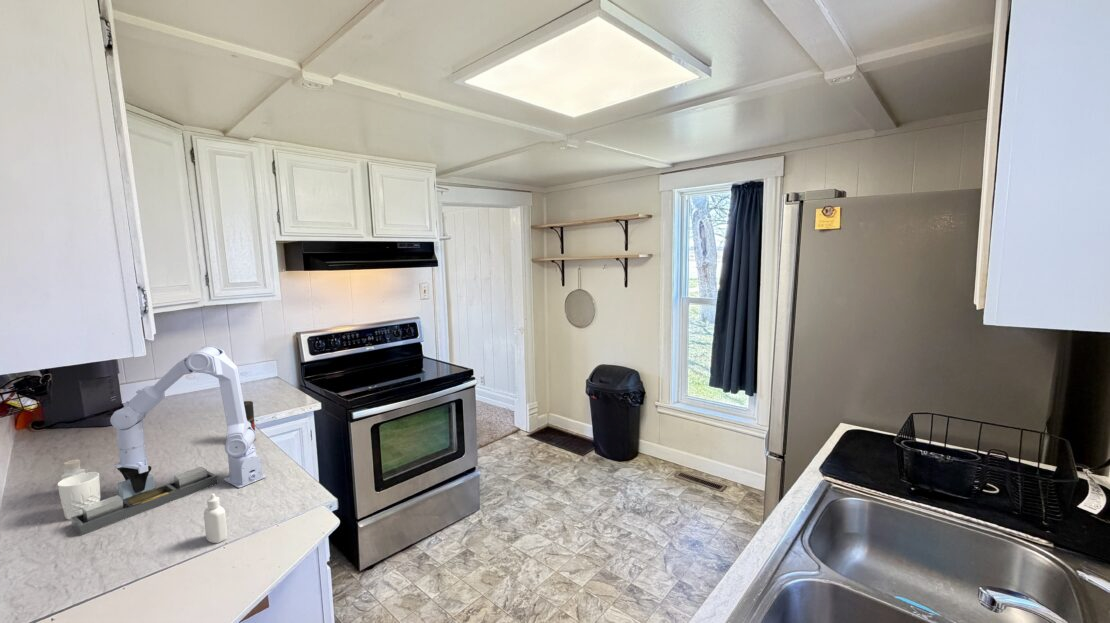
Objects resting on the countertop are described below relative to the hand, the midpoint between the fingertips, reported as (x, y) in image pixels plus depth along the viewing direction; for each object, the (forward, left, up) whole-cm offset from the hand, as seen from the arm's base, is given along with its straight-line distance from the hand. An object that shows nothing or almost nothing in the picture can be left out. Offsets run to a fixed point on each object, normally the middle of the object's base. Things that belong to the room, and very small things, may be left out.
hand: (136, 489), depth 133 cm
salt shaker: (+17, +9, -2) cm, 19 cm away
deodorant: (+13, -36, -2) cm, 38 cm away
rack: (-10, 0, -1) cm, 10 cm away
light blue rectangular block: (0, 0, -1) cm, 1 cm away
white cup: (0, +11, -2) cm, 12 cm away
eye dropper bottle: (-44, -2, -2) cm, 44 cm away
